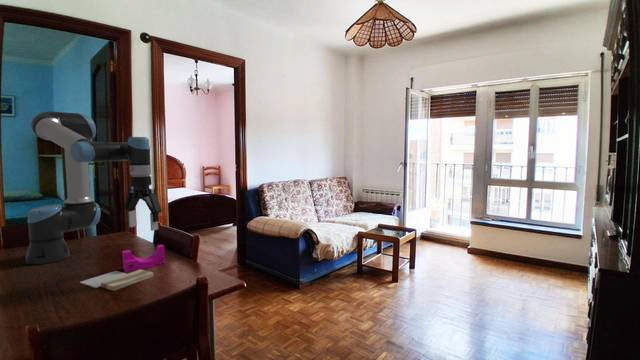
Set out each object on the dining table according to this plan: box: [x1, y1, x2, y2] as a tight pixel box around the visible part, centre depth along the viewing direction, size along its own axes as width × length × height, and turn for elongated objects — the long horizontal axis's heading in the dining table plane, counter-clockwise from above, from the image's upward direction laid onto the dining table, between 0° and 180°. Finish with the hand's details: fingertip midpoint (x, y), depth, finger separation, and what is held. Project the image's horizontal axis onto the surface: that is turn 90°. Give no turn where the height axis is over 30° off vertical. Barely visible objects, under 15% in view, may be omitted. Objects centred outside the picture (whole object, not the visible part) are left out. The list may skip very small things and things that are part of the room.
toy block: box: [121, 244, 166, 274], centre depth 139 cm, size 15×6×8 cm, turn 127°
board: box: [100, 269, 154, 291], centre depth 123 cm, size 8×15×2 cm, turn 152°
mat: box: [79, 270, 127, 289], centre depth 126 cm, size 10×13×1 cm
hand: (143, 228), depth 137 cm, fingers open, 13 cm apart
